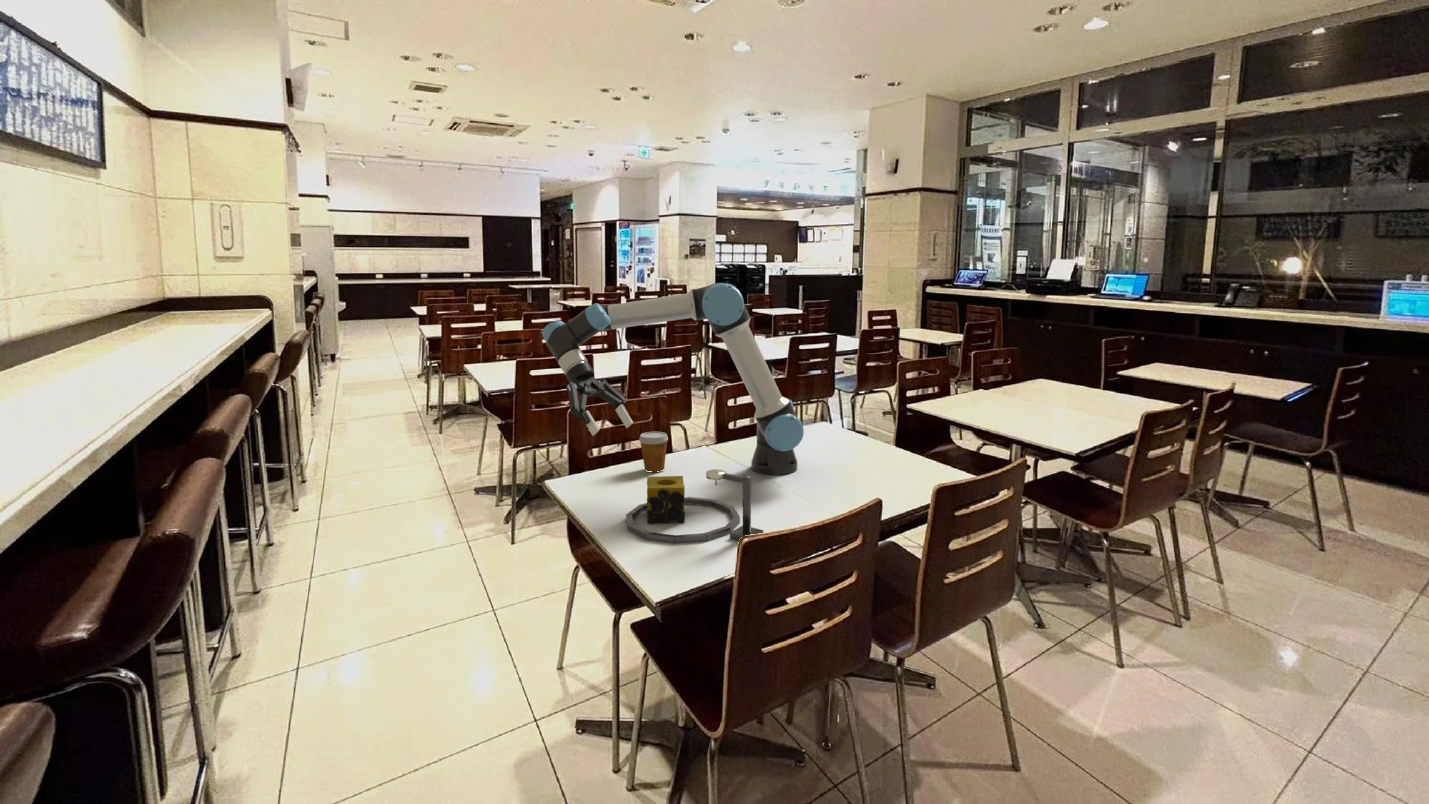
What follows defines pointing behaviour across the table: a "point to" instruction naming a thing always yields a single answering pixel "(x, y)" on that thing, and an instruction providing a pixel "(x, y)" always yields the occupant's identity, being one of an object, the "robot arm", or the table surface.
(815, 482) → the table surface
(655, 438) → the disposable coffee cup
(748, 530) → the dial indicator stand
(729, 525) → the ring
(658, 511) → the yellow and black cube
